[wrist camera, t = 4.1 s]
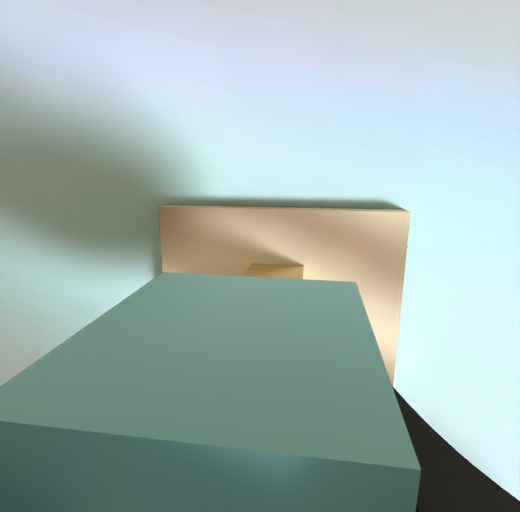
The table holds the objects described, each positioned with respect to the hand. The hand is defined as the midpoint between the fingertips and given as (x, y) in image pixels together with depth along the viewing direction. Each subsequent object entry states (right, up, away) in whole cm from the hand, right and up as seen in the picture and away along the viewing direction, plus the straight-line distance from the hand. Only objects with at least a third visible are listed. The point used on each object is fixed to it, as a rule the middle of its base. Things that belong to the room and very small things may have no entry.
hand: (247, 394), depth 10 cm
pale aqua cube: (0, 0, +1) cm, 1 cm away
